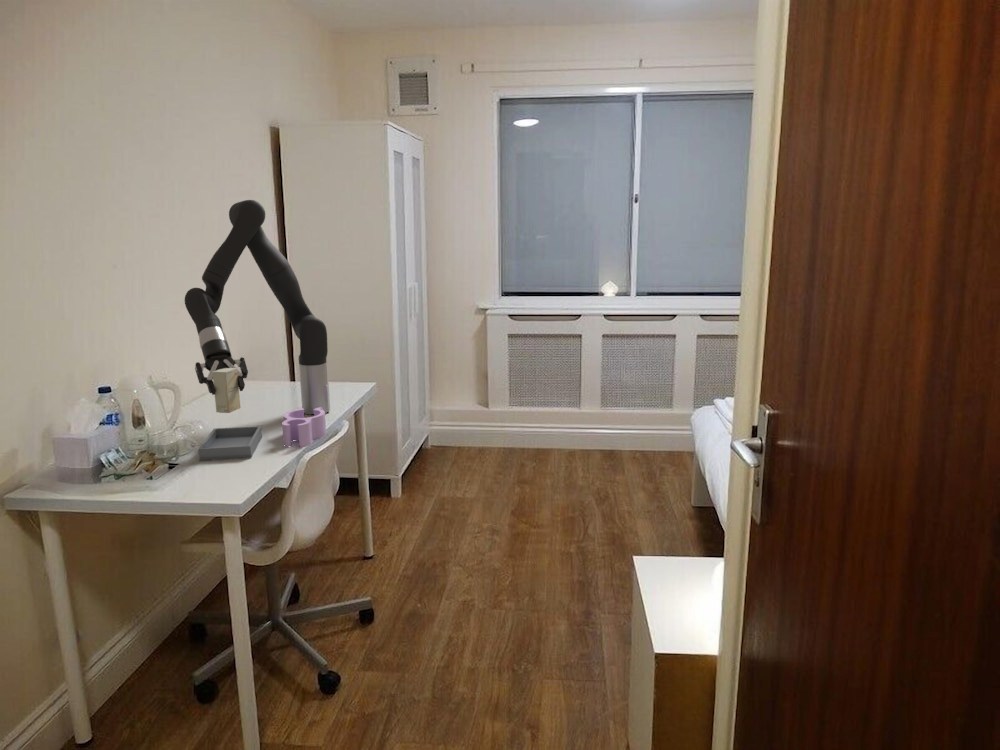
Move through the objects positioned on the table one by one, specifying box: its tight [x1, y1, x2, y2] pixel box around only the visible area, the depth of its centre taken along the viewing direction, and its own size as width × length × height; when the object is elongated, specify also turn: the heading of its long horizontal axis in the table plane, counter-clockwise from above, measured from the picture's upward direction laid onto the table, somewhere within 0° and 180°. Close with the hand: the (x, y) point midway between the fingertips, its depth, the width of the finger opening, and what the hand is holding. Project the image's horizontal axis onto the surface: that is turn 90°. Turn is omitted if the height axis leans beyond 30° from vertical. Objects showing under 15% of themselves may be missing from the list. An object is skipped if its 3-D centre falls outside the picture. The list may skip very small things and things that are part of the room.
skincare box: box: [212, 367, 241, 414], centre depth 210 cm, size 6×4×12 cm
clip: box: [281, 407, 327, 448], centre depth 223 cm, size 20×12×7 cm, turn 0°
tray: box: [197, 425, 263, 462], centre depth 213 cm, size 14×20×4 cm
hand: (228, 391), depth 208 cm, fingers closed on skincare box, 7 cm apart
